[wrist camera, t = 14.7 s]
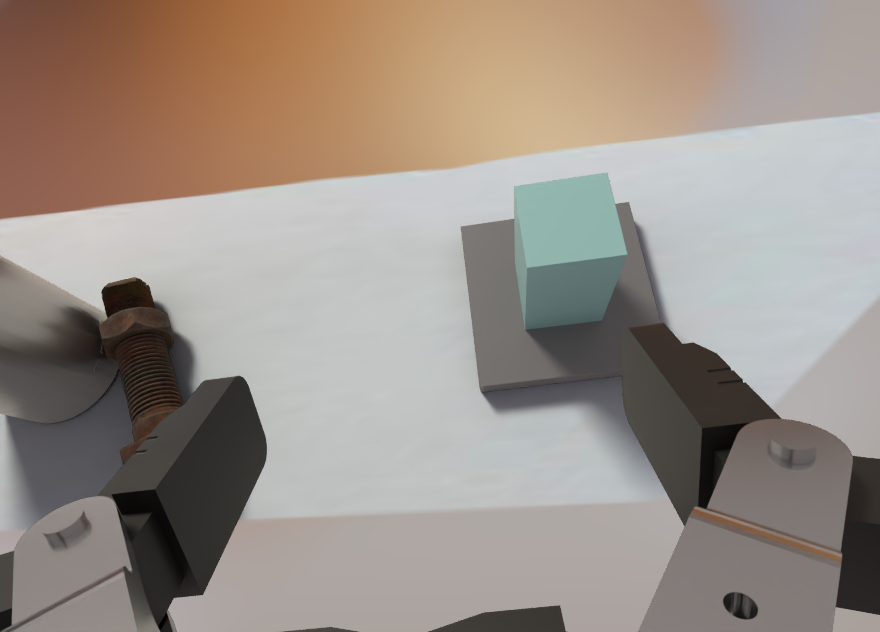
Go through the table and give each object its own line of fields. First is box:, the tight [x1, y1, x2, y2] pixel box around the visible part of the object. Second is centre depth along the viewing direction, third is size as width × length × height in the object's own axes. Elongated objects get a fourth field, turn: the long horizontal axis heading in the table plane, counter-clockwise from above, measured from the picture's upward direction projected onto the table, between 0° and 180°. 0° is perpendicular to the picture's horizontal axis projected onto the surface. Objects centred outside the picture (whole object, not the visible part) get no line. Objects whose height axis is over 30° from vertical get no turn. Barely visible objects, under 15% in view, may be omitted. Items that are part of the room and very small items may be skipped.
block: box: [514, 173, 627, 330], centre depth 32 cm, size 5×5×9 cm
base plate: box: [461, 202, 661, 392], centre depth 36 cm, size 12×12×4 cm
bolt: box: [99, 278, 183, 465], centre depth 38 cm, size 6×5×15 cm
